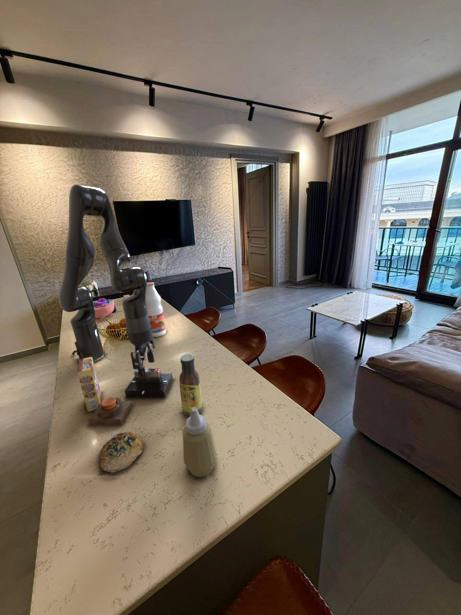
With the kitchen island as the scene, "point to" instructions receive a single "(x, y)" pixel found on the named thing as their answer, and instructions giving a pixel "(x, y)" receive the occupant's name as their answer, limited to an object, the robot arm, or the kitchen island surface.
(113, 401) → the button
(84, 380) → the candy box
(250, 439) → the kitchen island surface
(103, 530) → the kitchen island surface
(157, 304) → the fruit juice
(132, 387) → the tap base
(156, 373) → the silver flat block
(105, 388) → the kitchen island surface
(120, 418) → the button block
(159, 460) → the kitchen island surface
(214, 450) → the squeeze bottle
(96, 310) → the soup bowl
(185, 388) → the sauce bottle
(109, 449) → the bread roll
